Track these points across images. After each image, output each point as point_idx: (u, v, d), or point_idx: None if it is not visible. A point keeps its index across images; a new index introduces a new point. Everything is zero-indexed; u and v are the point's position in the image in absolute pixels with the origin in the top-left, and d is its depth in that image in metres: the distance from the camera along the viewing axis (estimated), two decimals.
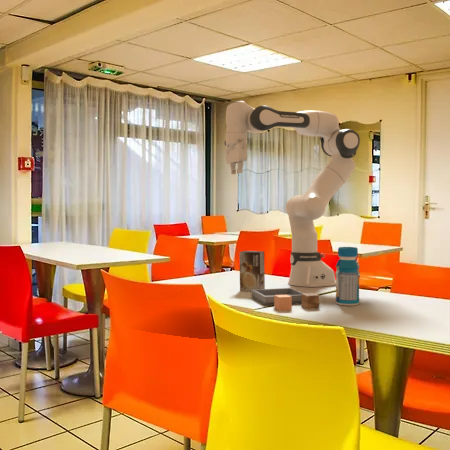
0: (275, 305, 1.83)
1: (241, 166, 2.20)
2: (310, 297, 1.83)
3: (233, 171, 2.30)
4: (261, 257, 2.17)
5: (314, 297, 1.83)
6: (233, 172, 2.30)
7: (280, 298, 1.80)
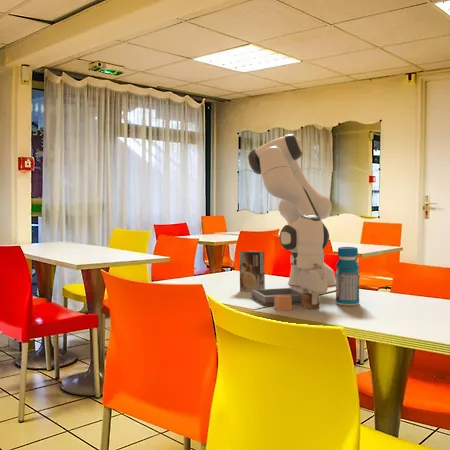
0: (275, 305, 1.83)
1: (316, 297, 1.81)
2: (310, 297, 1.83)
3: None
4: (261, 257, 2.17)
5: None
6: None
7: (280, 298, 1.80)
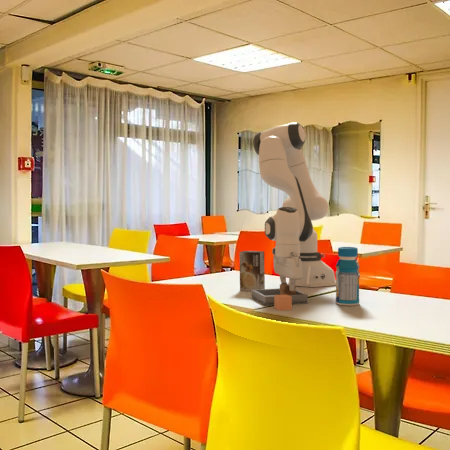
0: (275, 305, 1.83)
1: (293, 283, 1.94)
2: (287, 287, 1.96)
3: None
4: (261, 257, 2.17)
5: None
6: None
7: (280, 298, 1.80)
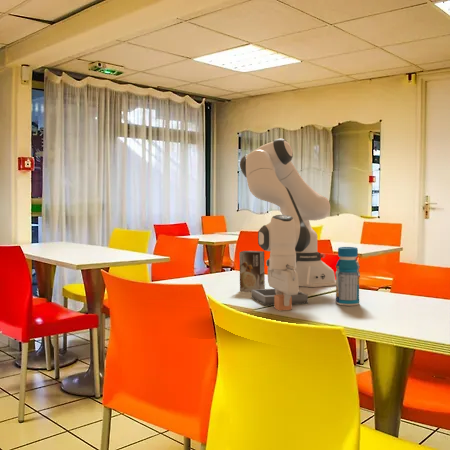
0: (275, 305, 1.83)
1: (288, 298, 1.78)
2: None
3: None
4: (261, 257, 2.17)
5: None
6: None
7: (280, 298, 1.80)
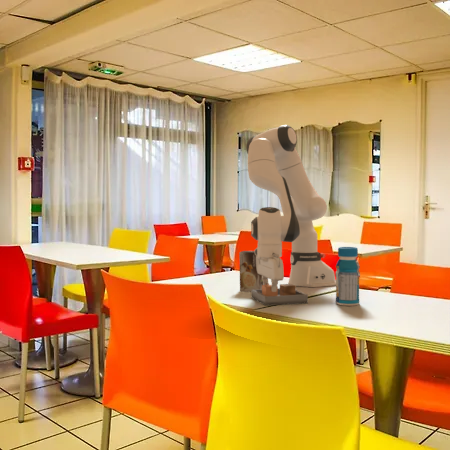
0: None
1: (275, 284, 1.92)
2: (287, 287, 1.96)
3: None
4: None
5: (291, 287, 1.97)
6: None
7: (267, 288, 1.95)
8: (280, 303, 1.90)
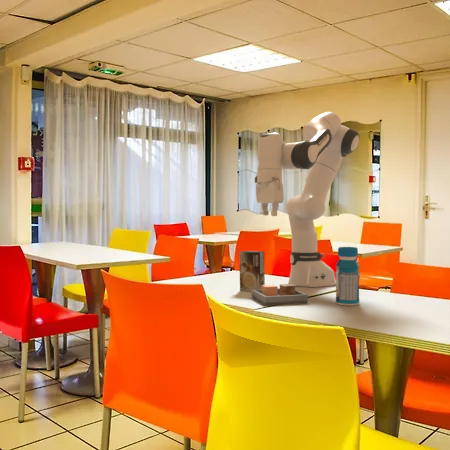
0: None
1: (276, 208, 1.90)
2: (287, 287, 1.96)
3: (265, 212, 2.00)
4: (261, 257, 2.17)
5: (291, 287, 1.97)
6: (265, 213, 2.00)
7: (267, 288, 1.95)
8: (280, 303, 1.90)
